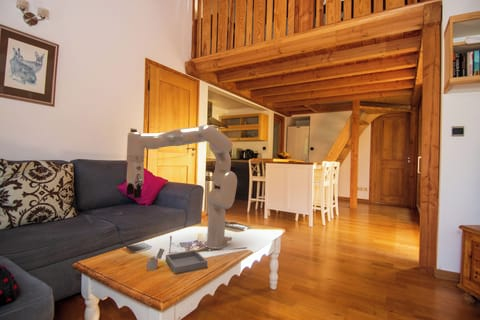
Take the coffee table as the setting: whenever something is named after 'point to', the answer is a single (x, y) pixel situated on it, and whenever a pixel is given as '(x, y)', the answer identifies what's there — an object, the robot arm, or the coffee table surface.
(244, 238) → the coffee table surface
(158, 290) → the coffee table surface
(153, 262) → the lighter
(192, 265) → the tray
